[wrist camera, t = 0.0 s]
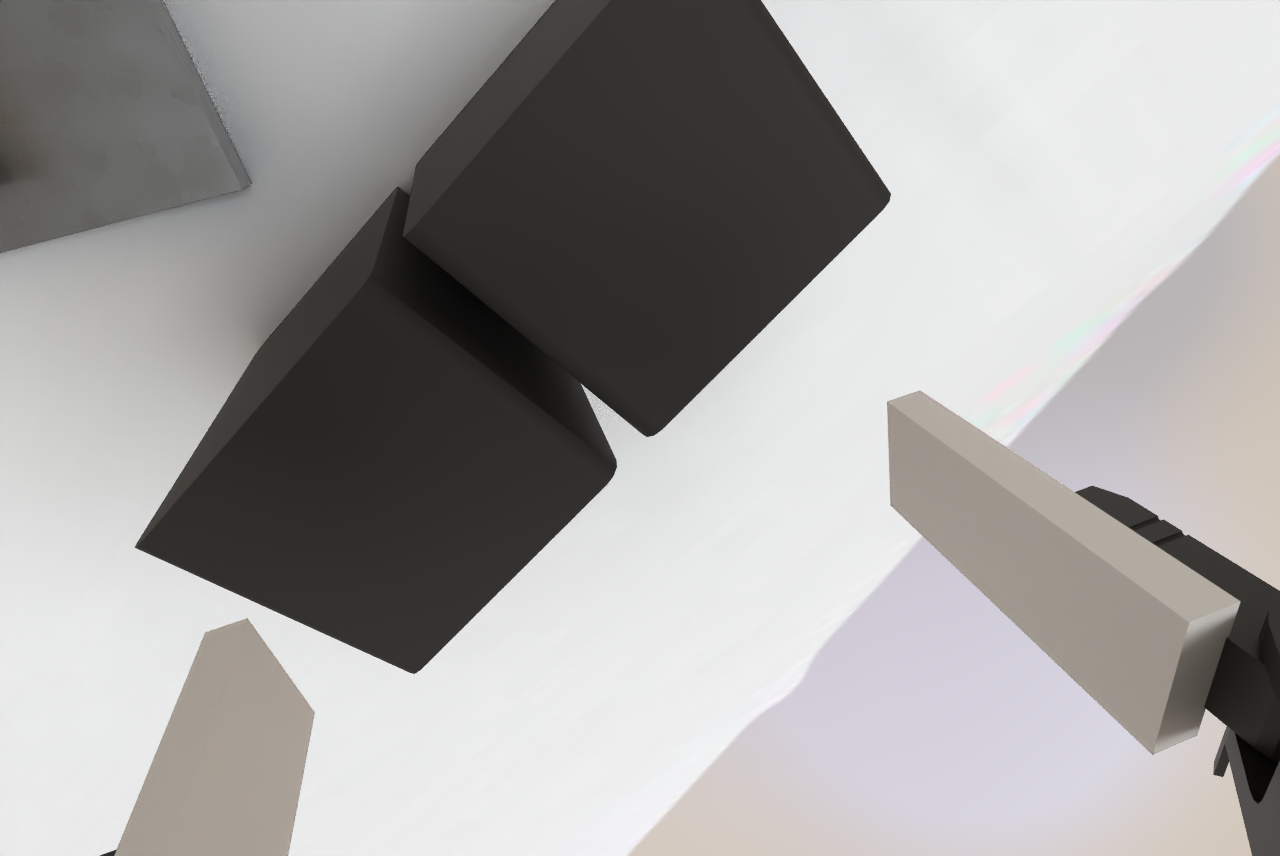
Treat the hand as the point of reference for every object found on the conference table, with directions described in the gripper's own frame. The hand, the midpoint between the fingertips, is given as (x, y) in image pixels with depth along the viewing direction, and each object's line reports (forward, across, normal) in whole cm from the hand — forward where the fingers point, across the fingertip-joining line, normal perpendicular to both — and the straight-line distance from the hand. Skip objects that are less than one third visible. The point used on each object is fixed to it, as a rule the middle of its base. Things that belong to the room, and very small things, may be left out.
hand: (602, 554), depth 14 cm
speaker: (+28, 0, 0) cm, 28 cm away
